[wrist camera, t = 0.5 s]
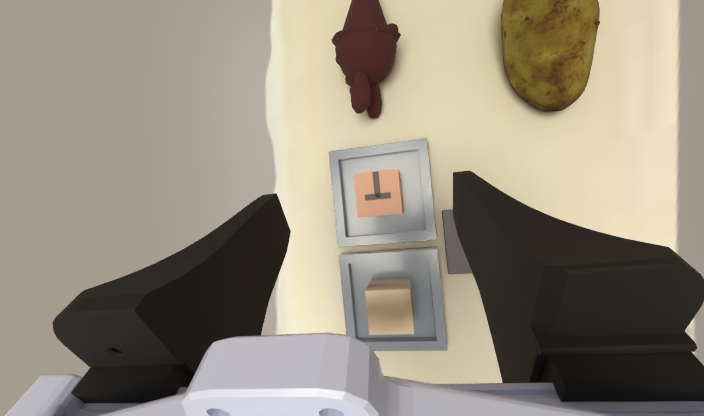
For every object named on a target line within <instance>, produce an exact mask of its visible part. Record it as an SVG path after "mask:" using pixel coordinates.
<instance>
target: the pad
mask: <svg viewBox="0 0 704 416" xmlns="http://www.w3.org/2000/svg"><path fill="white" fill-rule="evenodd" d="M442 214H443V225H444V235H445V245H446V255H447V265H448V273H449V274H462V273H472V270H471V268H470V265H469V263H468V260H467V258H466V255H465V253H464V250H463V248H462V245H461V243H460V240H459V238H458V234H457V230H456V226H455V222H454V218H453V210H446V211H442Z"/></svg>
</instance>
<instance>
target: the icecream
mask: <svg viewBox="0 0 704 416" xmlns="http://www.w3.org/2000/svg"><path fill="white" fill-rule="evenodd" d="M400 36H401V34H400V33H398V27H397V25H395V24H392V23H391V24H388V25H387V23H386V21H385V18H384V15H383V12H382V9H381V6H380V3H379V0H352V2H351V5H350V8H349V11H348V14H347V18H346V21H345V24H344V27H343V30H342V31H339V32H337V33H336V34H335V35H334V37H333V39H332V43H333V44H334V45H335V46H336V48H335V49H336V62H337V64H339V65H340V67H341V69H342V71H343V73H344V74H345V75H346V78H345V80H346V84H348V85H349V86H351V88H350V94H351V103H352V108H353V109H354V110H355V112H356V113H359V114H360V113H362V112H363V111H364V110H366V109H367V112H368V115H369V117H370V118H377V117H378V116H379V114H380V112H381V104H382V100H381V95H380V89H379V87H378V84H377V82H378V81H380V80H382V79H384V77H385V76H386V75H387V74H388V73H389V71H390V70H391V67H392V65H393V63H394V58H395V52H396V47H397V46H396V43H397V41H398V39H399V37H400Z"/></svg>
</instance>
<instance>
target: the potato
mask: <svg viewBox="0 0 704 416" xmlns="http://www.w3.org/2000/svg"><path fill="white" fill-rule="evenodd" d="M599 11H600V9H599V3H598V0H504V2H503V7H502V14H501V18H502V40H503V47H504V53H503V60H504V67H505V70H506V72H507V75H508V78H509V80H510V82H511V85H512V86H513V88H514V89H515V91H516V92H517V93H518V94H519V95H520V96H521V97H522V98H523V99H524V100H526V101H527V102H528V103H530V104H531V105H532V106H534V107H535V108H537V109H539V110H541V111H545V112H549V111H561V110H563V109H565V108H567V107H568V106H570V105H571V104H572V103H573V102H575V101H576V100H577V99H578V98H579V97H580V96H581V94H582V93H583V91H584V90H585V87H586V85H587V82H588V79H589V75H590V70H591V65H592V59H593V53H594V46H595V41H596V35H597V29H598V25H599V24H600V21H599Z"/></svg>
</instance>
